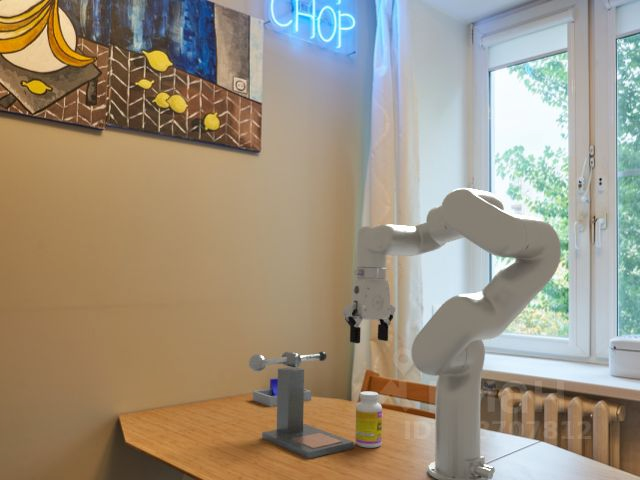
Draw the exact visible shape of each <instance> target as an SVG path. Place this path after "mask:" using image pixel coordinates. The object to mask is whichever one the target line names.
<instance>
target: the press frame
mask: <svg viewBox="0 0 640 480" xmlns="http://www.w3.org/2000/svg"><path fill="white" fill-rule="evenodd" d="M277 378H278V389H277V406H276V429H273V430H272V429H271V430H268V431H262V432H261V438H262V439H263V440H265V441H267V442H270V443H272V444H274V445H276V446H279V447H280V448H283V449H285V450H287V451H290V452H292V453H294V454H297V455H299V456H301V457H304V458H305V459H314V458H318V457H319V458H320V457H321V456H326V455H331V454H335V453H339V452H344V451H346V450H351V449H352V450H353V449H354V448H355V442H354V441H352V440H350V439H346V438H344V437H341V436H339V435H337V434H334V433H331V432H329V431H325V430H322V429H319V428H317V427H316V426H315V427H314V426H311V425H310V424H309V425H308V424H306V423H305V424H304V402H305V401H304V389H305V368H299V367H291V366H287V367H279V368H277Z"/></svg>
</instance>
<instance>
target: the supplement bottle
mask: <svg viewBox="0 0 640 480" xmlns="http://www.w3.org/2000/svg"><path fill="white" fill-rule="evenodd" d="M359 399H360V401H359V402H358V403H357V404H356V405H355V435H354V436H355V439H354V441H355V442H354V443H355V444H356V445H357V446H358V447H360V448H367V449H372V448H378V447H379V448H380V446H381V445H382V441H383V440H382V439H383V438H382V437H383V435H382V434H383V433H382V432H383V407H382V406H383V405H381V403H380V402H378V399H379V393H378V392H376V391H369V390H367V391H360V392H359Z"/></svg>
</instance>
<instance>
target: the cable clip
mask: <svg viewBox="0 0 640 480" xmlns="http://www.w3.org/2000/svg"><path fill="white" fill-rule="evenodd" d="M269 381H270V382H269V389H272V396H277V389H278V377H277V378H270V379H269Z"/></svg>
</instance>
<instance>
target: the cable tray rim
mask: <svg viewBox="0 0 640 480" xmlns="http://www.w3.org/2000/svg"><path fill="white" fill-rule="evenodd" d="M252 401H253V402H256V403H258V404H262V405H264V406H268V407H270V408H271V407H277V396H272V389H270V388H267V389H266V388H265V389H260V390H253V391H252ZM308 401H312V391H311V390H309V389H306V388H304V402H308Z"/></svg>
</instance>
